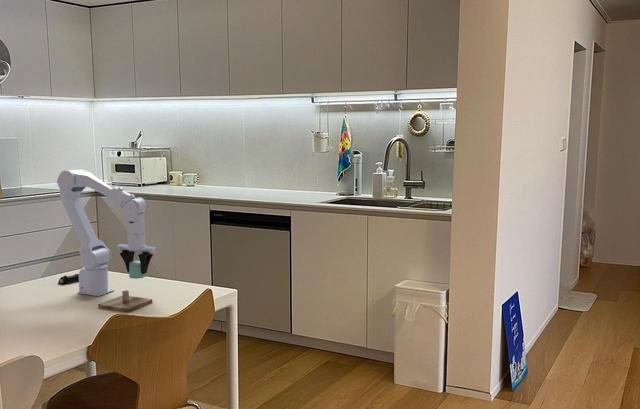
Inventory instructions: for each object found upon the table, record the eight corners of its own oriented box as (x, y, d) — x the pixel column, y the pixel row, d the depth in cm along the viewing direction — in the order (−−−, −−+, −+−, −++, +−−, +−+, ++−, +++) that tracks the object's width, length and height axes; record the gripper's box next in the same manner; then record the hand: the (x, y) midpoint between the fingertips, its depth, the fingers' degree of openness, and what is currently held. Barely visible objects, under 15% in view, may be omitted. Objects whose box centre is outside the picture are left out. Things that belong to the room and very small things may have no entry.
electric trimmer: (100, 278, 234) (100, 270, 234) (63, 285, 221) (62, 277, 221) (94, 277, 236) (94, 269, 236) (57, 284, 224) (57, 275, 223)
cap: (126, 277, 206) (125, 263, 205) (135, 274, 211) (135, 260, 210) (138, 279, 204) (138, 264, 204) (148, 275, 209) (148, 261, 208)
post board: (98, 307, 195) (97, 293, 194) (123, 298, 206) (123, 284, 205) (128, 312, 190) (128, 298, 190) (152, 302, 201) (152, 288, 201)
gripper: (110, 233, 204) (112, 272, 206) (146, 237, 199) (147, 277, 201) (124, 230, 211) (125, 268, 213) (159, 233, 206) (160, 272, 208)
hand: (137, 272), depth 207 cm, fingers closed on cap, 5 cm apart
